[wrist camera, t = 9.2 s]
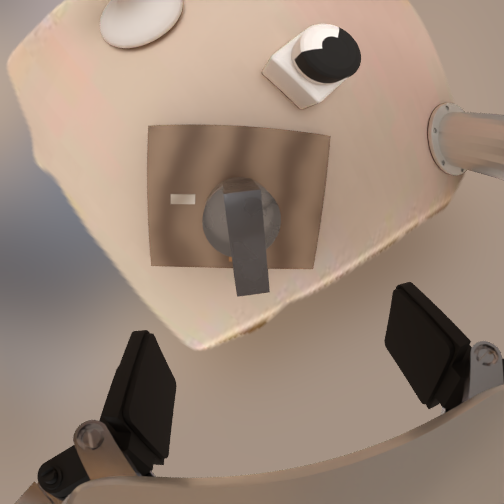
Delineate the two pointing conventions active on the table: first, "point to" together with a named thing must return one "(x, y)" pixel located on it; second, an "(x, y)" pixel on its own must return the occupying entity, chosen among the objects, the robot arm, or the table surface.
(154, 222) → the brown wooden board
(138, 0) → the flower in vase
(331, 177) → the table surface
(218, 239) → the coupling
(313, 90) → the medicine bottle
